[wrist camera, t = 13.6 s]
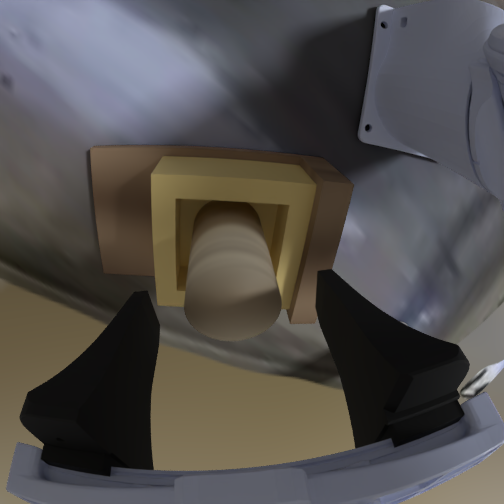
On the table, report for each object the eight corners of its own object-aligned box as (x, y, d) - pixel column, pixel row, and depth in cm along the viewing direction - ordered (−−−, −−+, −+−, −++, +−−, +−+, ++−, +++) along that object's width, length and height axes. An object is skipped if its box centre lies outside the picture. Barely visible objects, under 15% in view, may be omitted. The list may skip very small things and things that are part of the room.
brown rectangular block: (93, 145, 16) (57, 170, 12) (322, 157, 19) (354, 184, 14) (106, 268, 21) (85, 314, 17) (297, 276, 23) (315, 323, 19)
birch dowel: (187, 202, 17) (172, 276, 12) (257, 192, 18) (279, 260, 12) (200, 261, 20) (196, 345, 14) (263, 251, 20) (283, 333, 14)
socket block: (162, 156, 17) (150, 174, 14) (300, 165, 18) (316, 184, 15) (164, 271, 21) (157, 305, 18) (279, 276, 22) (289, 309, 19)
